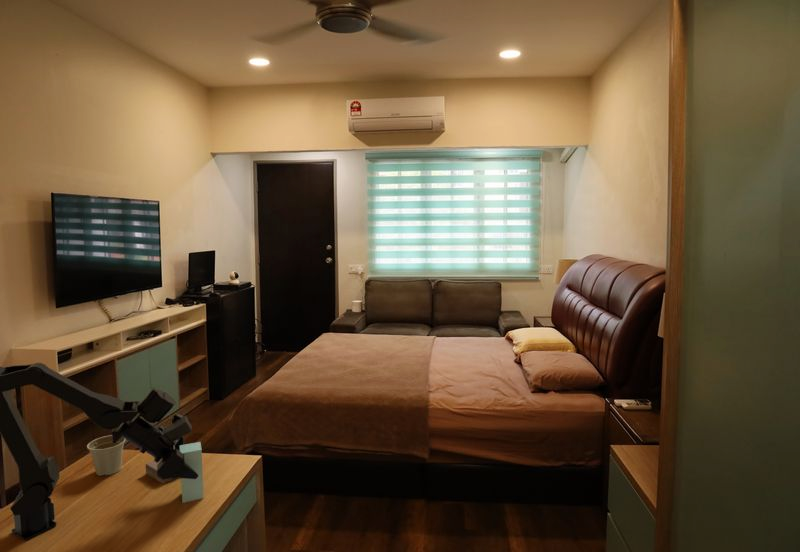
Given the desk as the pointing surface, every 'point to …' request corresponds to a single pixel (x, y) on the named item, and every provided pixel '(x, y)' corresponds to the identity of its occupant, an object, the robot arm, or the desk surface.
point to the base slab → (155, 471)
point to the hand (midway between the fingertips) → (196, 468)
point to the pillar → (193, 458)
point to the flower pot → (106, 454)
